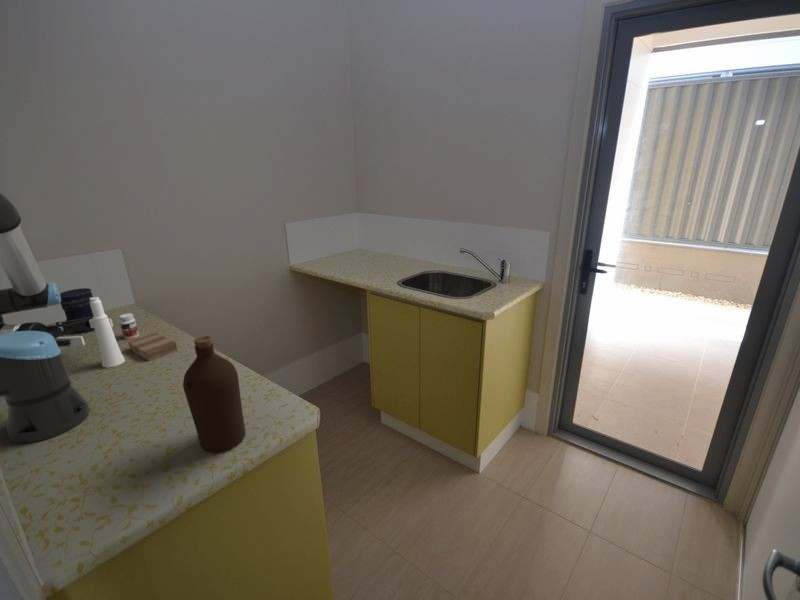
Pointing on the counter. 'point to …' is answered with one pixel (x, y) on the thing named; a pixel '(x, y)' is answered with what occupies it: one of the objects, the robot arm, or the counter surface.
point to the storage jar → (77, 306)
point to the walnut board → (152, 346)
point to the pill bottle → (128, 326)
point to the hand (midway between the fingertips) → (98, 331)
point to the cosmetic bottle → (105, 336)
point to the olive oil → (214, 399)
